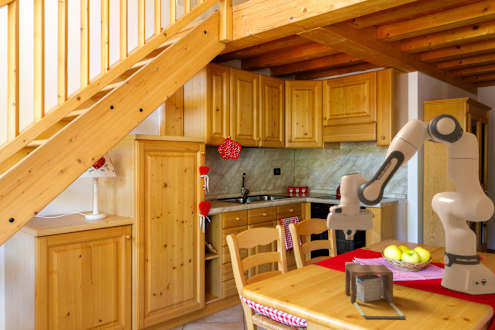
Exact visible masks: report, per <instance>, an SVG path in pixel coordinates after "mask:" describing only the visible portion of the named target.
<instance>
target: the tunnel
mask: <svg viewBox="0 0 495 330" xmlns="http://www.w3.org/2000/svg"><path fill="white" fill-rule="evenodd" d="M344 265H345V264H344ZM344 267H345V270H344V271H345V273H344V274H345V275H344V276H345V277H344V282H345V284H344V285H345V286H344V287H345V289H344V290H345V293H344V294H345V296H350V303H351V304H354V303H357V292H356V275H360V276H363V275H377V276H379V277H381V298H383V299H384V300H385V301H386V302H387V303H388V304H389V305H390V303H393V304H394V271H392V270H391V269H390V268H389V267H387V266H386V265H385V264H360V265H345V266H344ZM350 273H351V279H350Z"/></svg>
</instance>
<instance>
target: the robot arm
mask: <svg viewBox="0 0 495 330" xmlns="http://www.w3.org/2000/svg"><path fill="white" fill-rule="evenodd" d="M426 141H428V142H432V143H436V144H443V143H444V144H445V145H446V147H447V148H448V149H447V150H448V155H447V171H446V172H447V175H446V176H447V178H448V180H449V181H450V182H452V183H453V184H454V186H455V190H456V191H442V192H438V193H436V194H434V196H432V200H431V208H432V210H433V212H434V213H436V215H437V216H438V218H439V219H440V221H441V223H442V227H443V229H444V235H445V251H444V253H443V254H444V256H443V262H444V271H443V276H442V280H441V283H440V284H441V286H443V288H447V289H449V290H452V291H455V292H461V293H465V294H469V295H485V294H495V273H494V272H493V271H492V270H490V269H489V268H488V267H487V266H485V265H484V264H483V263H482V262H486V261H487V257H486V256H484V255H479V254H478V253H477V235H476V233H475V232H474V230H472V229H471V228H470V227H469V225H468V223H467V221H469V222H486V221H488V220H490V219H491V218H492V217H493V214H494V212H495V206H494V202H493V201H492V199H491V198H490V197H488V196H487V195H486V193H485V192H484V190H483V188H482V186H481V183H480V179H479V161H480V160H479V159H480V158H479V157H480V156H479V155H480V153H479V143H478V139H477V136H476V135H475V134H474V133H471V132H469V131H468V132H467V131H464V128H463V126H462V125H461V123H460V122H459V119H457V117H455V116H454V115H452V114H448V113H443V114H439V115H437V116H435V117H434V118H432V119H431V120H430V121H429V122H428V121H427V122H424V121H423V120H421V119H416V118H413V119H410V120H409V121H408V122H406V124H404V125H403V126H402V127H401V129H400V130H399V131H398V132H397V133H396V135H395V136H394V137H393V139H392V140H391V142H390V144H389V146H388V148H387V151H386V154H385V158H384V161H383V163H382V164H381V166H380V167H379V168H378V170H377V171H376V172H375V174H374V175H373V176H372V178H371V179H368V178H366V177H364V176H362V175H361V174H360V173H359V172H354V173H353V172H352V173H346V174H344V175H343V176H342V177H341V179H340V188H339V191H340V200H339V204H338V205H333V206H329V207H330V208H329V213H328V215H327V217H326V218H327V219H326V228H327V229H328V230H341V231H343V233H344V235H345V240H347V241H348V240H351V241H353V240H354V236H355V234H356V232H357V231H372V230H373V228H374V223H373V218H374V213H373V211H372V210H371V209H369V208H368V209H364V208H361V204H363V205H365V206H367V207H368V206H370V207H373V206H377V205H378V204H379V203H381V202H382V200H383V197H384V192H385V188H386V186H387V185H388V183H390V181H391V179H392V178H394V177H393V176H394V175H395V174H396V173H397V171H399V169H401V167H403V166H404V165H405V164H407V163H408V162H409V161H411V159H412V158H413V157H414V156H415V154H417V152H418V151H419V149H421V147H422V145H424V143H426ZM349 231H351V233H350V234H348V232H349ZM481 261H482V262H481Z"/></svg>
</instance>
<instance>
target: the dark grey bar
mask: <svg viewBox="0 0 495 330" xmlns="http://www.w3.org/2000/svg"><path fill="white" fill-rule="evenodd" d="M363 318H364V319H365V320H406V317H404V316H400V315H398V316H397V315H365V316H364V317H363Z"/></svg>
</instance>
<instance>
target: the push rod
mask: <svg viewBox="0 0 495 330" xmlns="http://www.w3.org/2000/svg"><path fill="white" fill-rule="evenodd" d="M344 265H361V262H354V261H353V262H349V261H346V262H345V264H344ZM357 276H361V275H356V293H357ZM350 280H351V273H350Z"/></svg>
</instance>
